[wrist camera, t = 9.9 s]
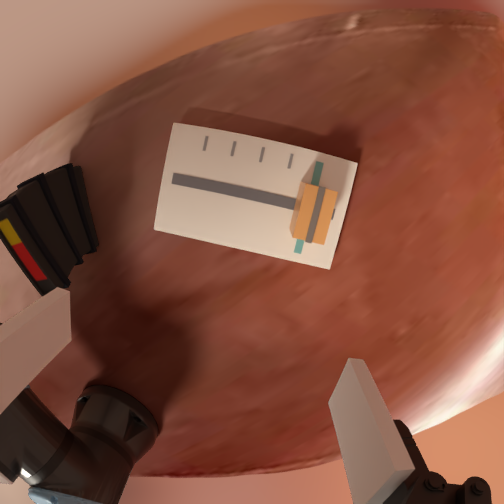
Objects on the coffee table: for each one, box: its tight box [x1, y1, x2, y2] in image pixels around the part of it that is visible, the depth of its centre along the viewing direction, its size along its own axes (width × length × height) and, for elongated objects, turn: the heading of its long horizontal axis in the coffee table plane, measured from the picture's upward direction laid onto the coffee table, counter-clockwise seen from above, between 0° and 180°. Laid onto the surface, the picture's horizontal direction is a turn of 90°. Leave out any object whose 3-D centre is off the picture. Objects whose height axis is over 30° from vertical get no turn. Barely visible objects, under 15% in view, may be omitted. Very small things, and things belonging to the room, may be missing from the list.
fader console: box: [154, 123, 358, 269], centre depth 33 cm, size 12×20×2 cm, turn 78°
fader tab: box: [289, 181, 338, 245], centre depth 30 cm, size 5×3×5 cm, turn 168°
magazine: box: [0, 163, 99, 296], centre depth 30 cm, size 4×13×15 cm, turn 11°
